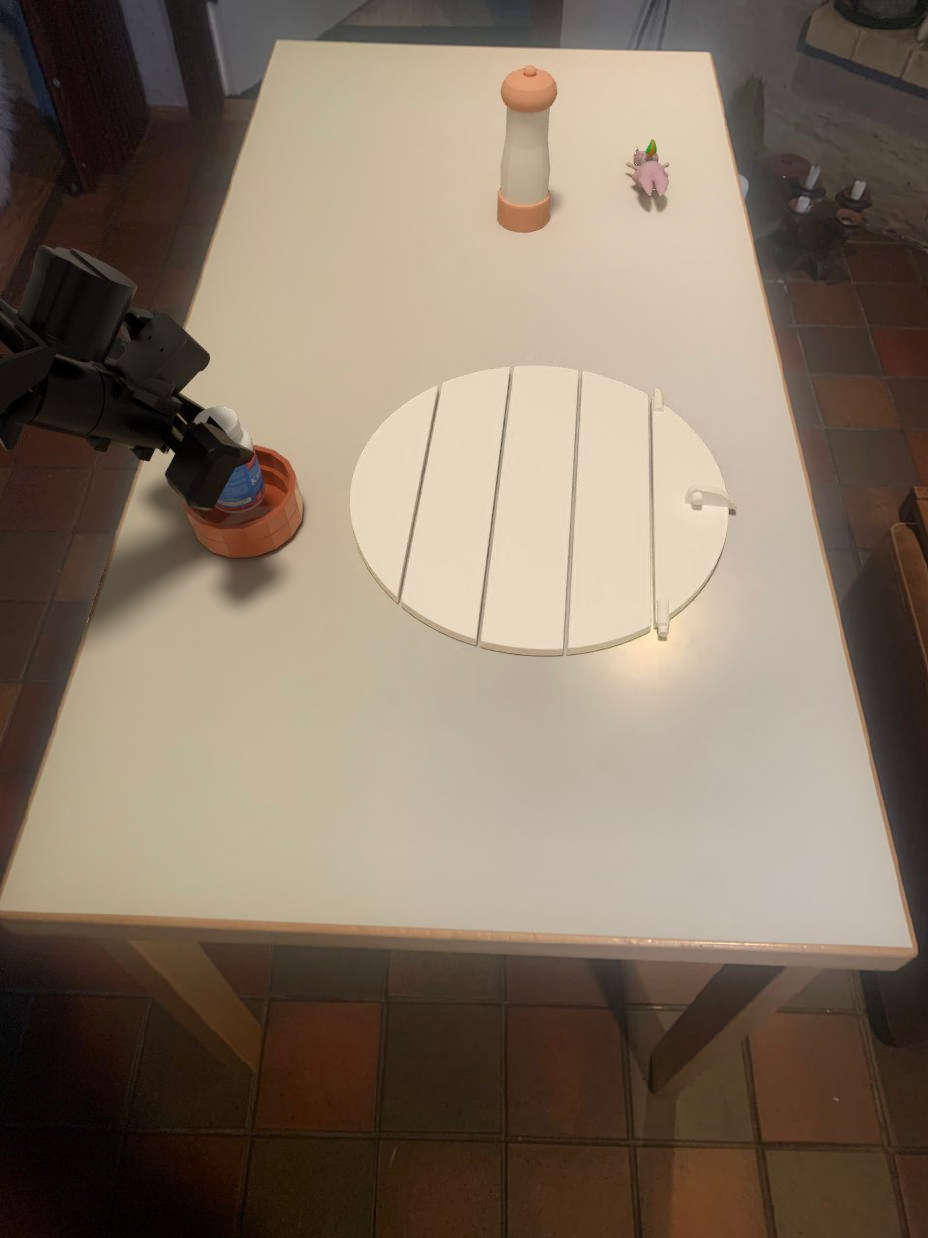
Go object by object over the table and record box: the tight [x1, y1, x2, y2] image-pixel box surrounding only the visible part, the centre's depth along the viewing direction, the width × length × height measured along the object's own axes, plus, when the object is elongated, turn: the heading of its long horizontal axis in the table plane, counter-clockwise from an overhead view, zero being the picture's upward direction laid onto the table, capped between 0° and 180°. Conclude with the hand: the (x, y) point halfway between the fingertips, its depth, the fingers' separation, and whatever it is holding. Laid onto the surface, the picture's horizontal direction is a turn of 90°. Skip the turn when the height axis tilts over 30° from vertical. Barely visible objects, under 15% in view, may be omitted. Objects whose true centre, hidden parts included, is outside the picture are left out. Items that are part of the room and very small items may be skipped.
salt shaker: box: [496, 64, 558, 233], centre depth 110 cm, size 7×7×19 cm
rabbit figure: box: [625, 138, 670, 197], centre depth 119 cm, size 6×6×15 cm
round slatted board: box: [349, 365, 738, 657], centre depth 87 cm, size 40×39×3 cm
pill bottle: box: [194, 405, 265, 514], centre depth 80 cm, size 6×5×10 cm
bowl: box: [180, 444, 304, 559], centre depth 85 cm, size 11×11×5 cm
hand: (236, 440), depth 79 cm, fingers closed on pill bottle, 5 cm apart
